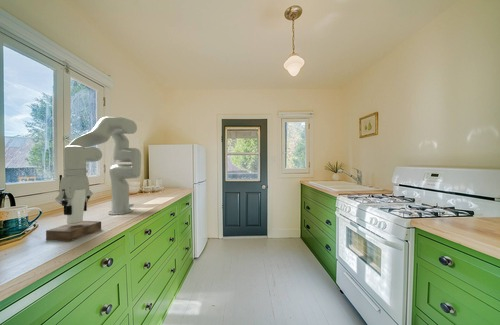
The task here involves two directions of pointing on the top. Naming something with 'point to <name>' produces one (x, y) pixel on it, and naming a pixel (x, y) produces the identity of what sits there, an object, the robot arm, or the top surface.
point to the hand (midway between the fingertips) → (75, 212)
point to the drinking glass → (77, 207)
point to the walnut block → (73, 231)
